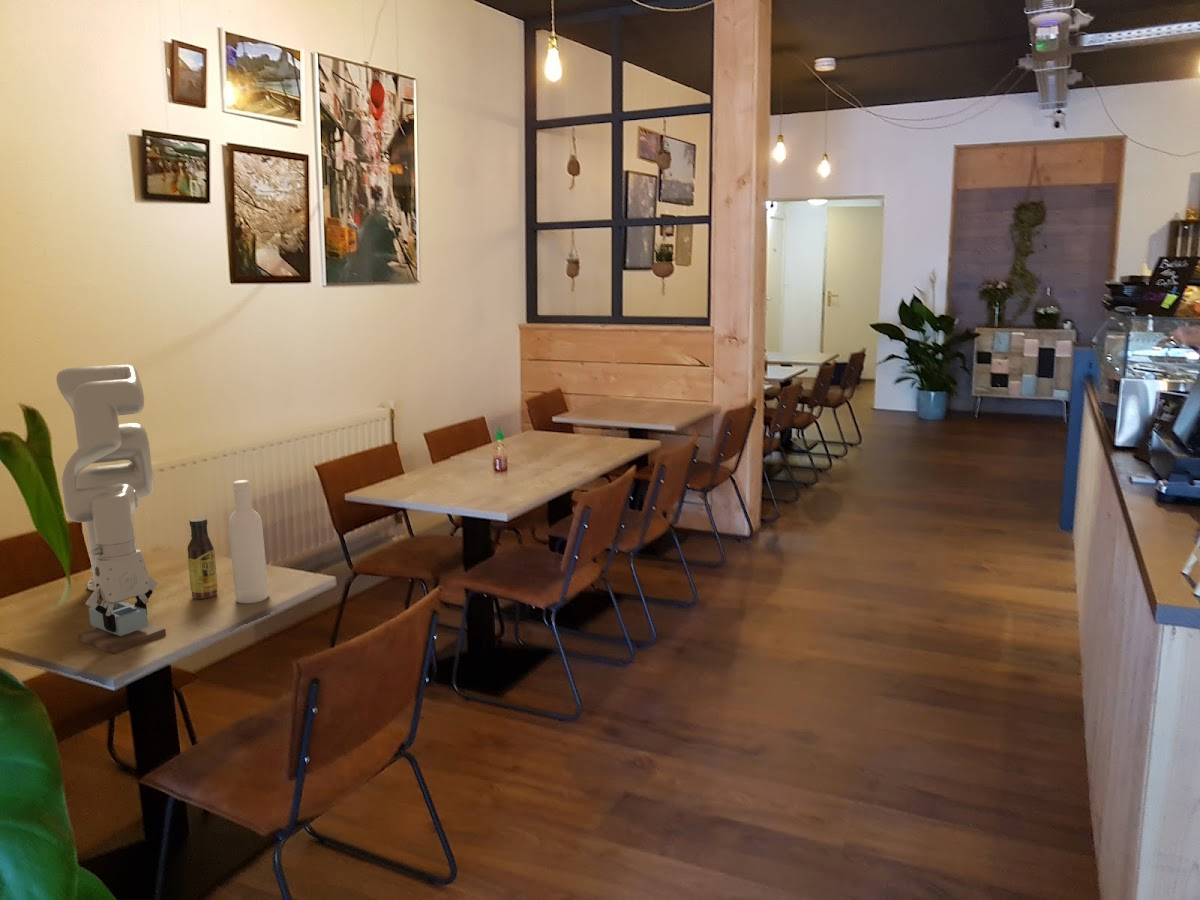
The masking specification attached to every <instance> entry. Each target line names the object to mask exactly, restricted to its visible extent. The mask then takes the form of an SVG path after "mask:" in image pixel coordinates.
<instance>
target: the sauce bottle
mask: <svg viewBox="0 0 1200 900" xmlns="http://www.w3.org/2000/svg"><path fill="white" fill-rule="evenodd" d="M189 526H190V532H191V533H190V534H191V536H190V537H191V539H190V541H189V543H188V545H187V565H188V574H189V583H190V585H189V587H190V592H191V596H192V598H193V599H196V600H203V599H204V600H205V599H209V598H213V597H215V596H216V595H217V594H218V587H219V586H218V578H217V564H216V553H215V548H214V546H213V544H212V542H211V539H210V537H209V533H208V519H207V517H195V518H191V519H190V520H189Z"/></svg>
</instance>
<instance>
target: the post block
mask: <svg viewBox="0 0 1200 900" xmlns="http://www.w3.org/2000/svg"><path fill="white" fill-rule="evenodd" d="M116 609H117V603H114V607H113V610H116ZM113 610H112V611H113ZM166 631H167V630H166V628H164V627H163V626H162V627H161V626H158V625H156V624H153V623H150V622H148V627H145V628H142V629H139V630H136V631H133V632H131V633H128V634H125V635H122V636H119V635H116V634H113V633H111V632H108V631H105V630H103V629H100V628H97V627H95V628H93V629H90V630H87V631H84V632H80V633H78V641H80V642H83V643H85V644H87V645H90V646H93V647H95V648H98V649H101V650H103V651H105V652H109V653H111V654H115V655H116V654H117V653H120V652H123V651H126V650H128V649H129V650H130V648H134V647H137V646H139V645H142V644H145V643H147V642H150V641H153V640H156V639H158V638H161V637H164V636H166V635H167V633H166Z"/></svg>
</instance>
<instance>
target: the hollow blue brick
mask: <svg viewBox="0 0 1200 900" xmlns="http://www.w3.org/2000/svg"><path fill="white" fill-rule="evenodd" d="M101 604H102V603H101ZM101 604H99V605H100V606H101ZM88 614H89V622H90V626H93V627H95V628H100V629H103V630H105V631H108V630H106V629H105V627H104V622H103V614H101V613H99V612H98V611H96V610H94V609H93V608H91V607H89V608H88ZM112 614H113V615H115V625H116V632H111V633H113V634H116V635H119V636H122V635H125V634H128V633H131V632H133V631H136V630H139V629H142V628H145V627H148V623H149V622H148V621H149V620H148V611H147V612H146V609H144V608H140V607H137V606H135V604H131V603H128V602H125V601H121V602H118V603H117V609H116V610H113V611H112ZM108 632H110V631H108Z"/></svg>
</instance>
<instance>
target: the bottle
mask: <svg viewBox="0 0 1200 900" xmlns="http://www.w3.org/2000/svg"><path fill="white" fill-rule="evenodd" d="M232 484H233V486H232V490H233V493H234V494H233V495H234V504H235V510H234V511H233V512H232V514H231V515H230V517H229V520H228V524H227V525H228V526H227V527H228V536H229V546H230V555H231V565H232V566H231V567H232V575H233V576H232V577H233V585H234V587H233V589H234V590H233V591H234V597H235V601H236V602H237V603H239V604H246V605H247V604H256V603H259V602H263V601H265V600H267V598H269V596H270V595H269V590H270V589H269V583H268V574H267V572H268V571H267V562H266V561H267V560H266V552H265V540H264V531H263V521H262V518H261V515H260V514H259V512H258V511H256V510H255V509H254V508H252V500H251V485H250V481H249V480H247V479H240V480H235V481H233V483H232Z"/></svg>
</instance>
